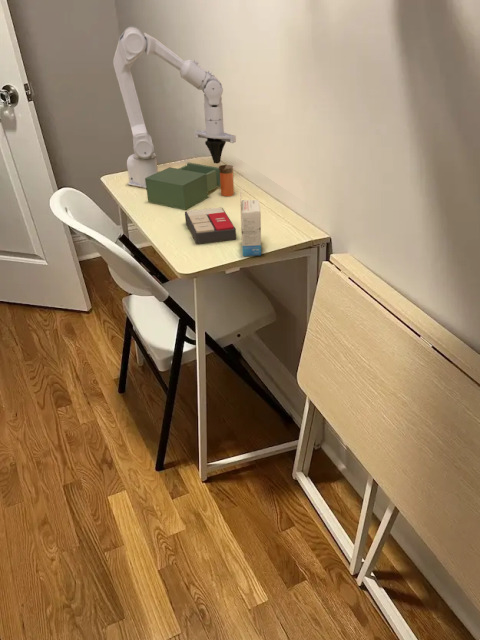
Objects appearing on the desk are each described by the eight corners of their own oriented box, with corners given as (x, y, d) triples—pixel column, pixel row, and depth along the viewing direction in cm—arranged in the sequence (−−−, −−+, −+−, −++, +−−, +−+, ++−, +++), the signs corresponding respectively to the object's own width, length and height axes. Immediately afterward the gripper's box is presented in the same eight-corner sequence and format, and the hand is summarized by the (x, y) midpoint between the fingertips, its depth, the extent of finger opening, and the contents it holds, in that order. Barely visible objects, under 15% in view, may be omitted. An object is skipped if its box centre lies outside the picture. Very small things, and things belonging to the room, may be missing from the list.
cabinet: (172, 190, 184) (169, 167, 179) (208, 197, 179) (206, 173, 174) (148, 202, 175) (144, 178, 170) (185, 210, 170) (183, 185, 166)
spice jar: (217, 195, 181) (216, 167, 176) (225, 191, 184) (223, 164, 179) (229, 197, 179) (228, 169, 174) (236, 193, 182) (235, 166, 177)
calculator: (195, 231, 148) (184, 208, 159) (196, 246, 151) (185, 223, 161) (236, 226, 151) (222, 204, 161) (236, 241, 153) (223, 219, 164)
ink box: (261, 256, 145) (260, 199, 136) (242, 256, 144) (240, 199, 135) (260, 242, 152) (259, 187, 143) (241, 243, 151) (239, 187, 142)
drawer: (197, 176, 193) (195, 159, 189) (228, 182, 188) (228, 164, 185) (170, 189, 182) (167, 171, 178) (203, 196, 177) (201, 177, 174)
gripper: (239, 118, 182) (241, 162, 190) (202, 113, 187) (205, 156, 195) (228, 123, 177) (230, 168, 185) (189, 118, 182) (193, 161, 190)
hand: (216, 162), depth 190 cm, fingers closed
